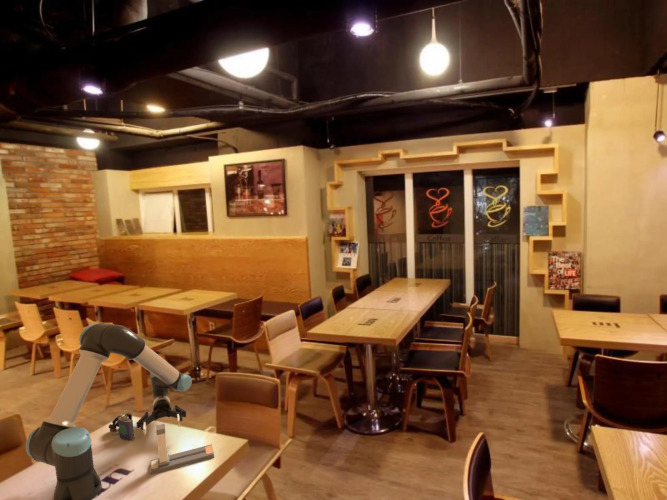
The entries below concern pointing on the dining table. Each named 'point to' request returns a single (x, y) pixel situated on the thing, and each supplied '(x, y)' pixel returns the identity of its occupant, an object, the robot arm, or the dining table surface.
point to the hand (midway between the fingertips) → (162, 427)
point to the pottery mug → (114, 425)
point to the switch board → (183, 458)
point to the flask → (126, 428)
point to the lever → (162, 445)
